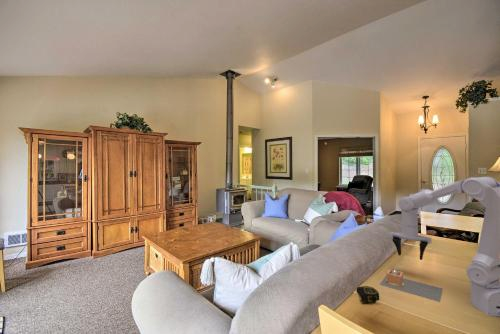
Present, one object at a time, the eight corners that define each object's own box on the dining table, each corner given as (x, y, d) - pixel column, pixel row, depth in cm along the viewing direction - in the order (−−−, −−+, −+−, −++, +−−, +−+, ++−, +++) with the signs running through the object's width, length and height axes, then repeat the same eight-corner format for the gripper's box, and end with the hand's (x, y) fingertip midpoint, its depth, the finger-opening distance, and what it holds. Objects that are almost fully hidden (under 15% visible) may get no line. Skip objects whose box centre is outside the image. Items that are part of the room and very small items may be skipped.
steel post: (399, 286, 96) (398, 271, 96) (393, 286, 97) (392, 271, 97) (396, 284, 99) (396, 269, 99) (390, 283, 99) (390, 269, 99)
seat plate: (443, 291, 92) (442, 287, 92) (440, 305, 83) (439, 301, 83) (387, 276, 105) (387, 273, 105) (379, 287, 96) (379, 283, 96)
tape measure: (356, 294, 92) (355, 284, 92) (375, 295, 91) (375, 285, 91) (361, 304, 85) (361, 294, 85) (382, 306, 84) (382, 295, 84)
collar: (403, 281, 98) (403, 272, 98) (400, 285, 94) (400, 276, 94) (389, 277, 101) (389, 269, 101) (386, 281, 97) (386, 273, 97)
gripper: (432, 225, 100) (432, 258, 101) (392, 220, 110) (393, 250, 110) (429, 229, 95) (430, 263, 95) (388, 223, 105) (389, 254, 105)
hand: (410, 256), depth 102 cm, fingers open, 7 cm apart
